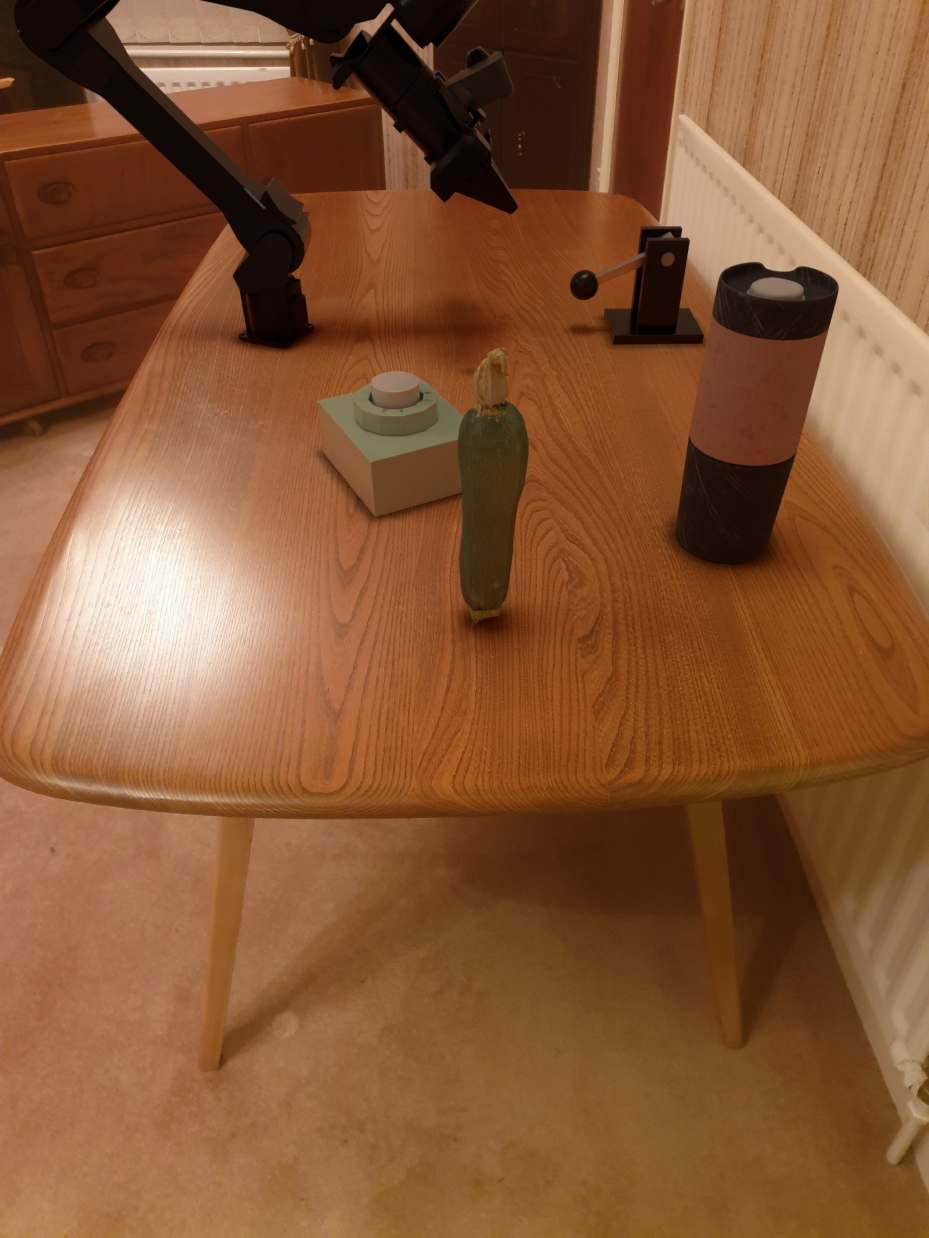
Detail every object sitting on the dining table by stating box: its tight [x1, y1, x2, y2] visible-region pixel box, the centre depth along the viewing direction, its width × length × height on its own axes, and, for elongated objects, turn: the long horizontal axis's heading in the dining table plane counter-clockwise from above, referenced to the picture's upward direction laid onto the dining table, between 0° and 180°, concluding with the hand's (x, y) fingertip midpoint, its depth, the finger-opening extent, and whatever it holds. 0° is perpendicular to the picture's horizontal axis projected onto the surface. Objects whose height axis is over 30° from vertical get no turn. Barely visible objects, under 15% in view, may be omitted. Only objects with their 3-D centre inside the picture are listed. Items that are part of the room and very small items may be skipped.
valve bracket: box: [603, 225, 705, 346], centre depth 96 cm, size 10×8×11 cm
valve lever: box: [569, 232, 674, 301], centre depth 95 cm, size 12×3×3 cm, turn 91°
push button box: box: [316, 377, 464, 518], centre depth 74 cm, size 12×10×7 cm
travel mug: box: [675, 261, 840, 565], centre depth 62 cm, size 8×8×20 cm
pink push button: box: [370, 370, 420, 409], centre depth 72 cm, size 4×4×2 cm
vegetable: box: [458, 347, 530, 624], centre depth 55 cm, size 4×4×20 cm
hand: (515, 210), depth 91 cm, fingers closed
